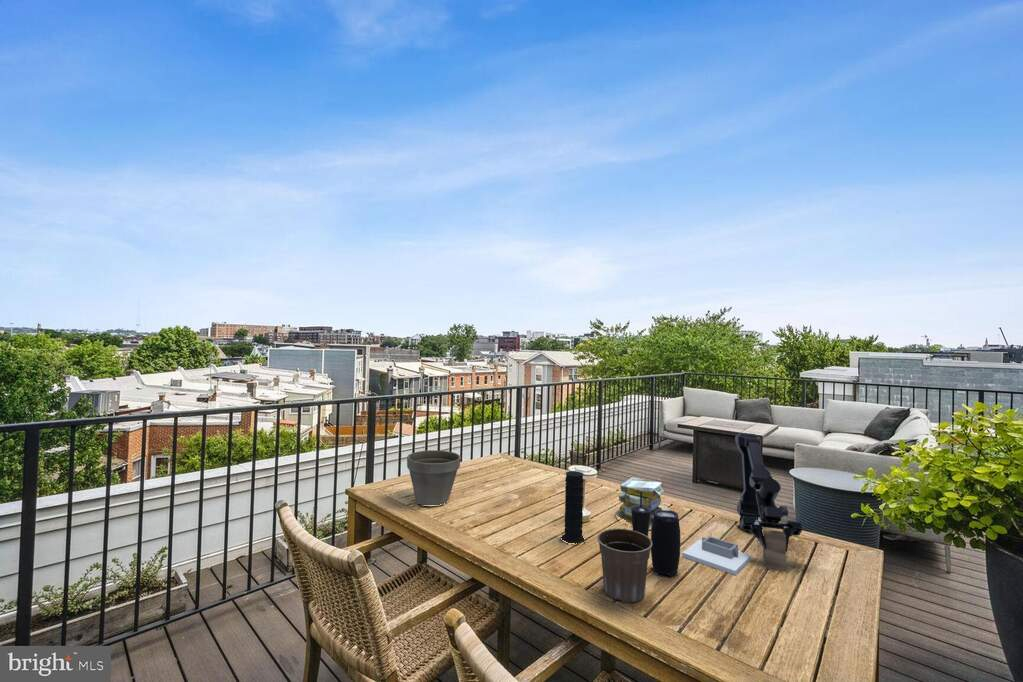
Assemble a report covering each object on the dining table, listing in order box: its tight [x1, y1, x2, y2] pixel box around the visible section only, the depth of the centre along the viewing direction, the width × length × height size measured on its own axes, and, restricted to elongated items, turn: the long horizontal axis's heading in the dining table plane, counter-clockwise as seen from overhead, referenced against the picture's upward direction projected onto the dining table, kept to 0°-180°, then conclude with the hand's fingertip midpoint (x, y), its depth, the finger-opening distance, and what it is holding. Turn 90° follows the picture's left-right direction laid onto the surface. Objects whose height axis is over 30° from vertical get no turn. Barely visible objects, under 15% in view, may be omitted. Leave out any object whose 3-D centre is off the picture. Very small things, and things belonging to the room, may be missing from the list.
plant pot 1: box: [406, 449, 462, 505], centre depth 213 cm, size 25×25×22 cm
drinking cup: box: [630, 491, 651, 537], centre depth 172 cm, size 8×8×20 cm
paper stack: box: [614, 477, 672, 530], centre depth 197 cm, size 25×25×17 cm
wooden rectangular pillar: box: [762, 529, 787, 572], centre depth 155 cm, size 4×6×12 cm, turn 76°
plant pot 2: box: [596, 528, 652, 603], centre depth 138 cm, size 16×16×16 cm
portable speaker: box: [650, 509, 681, 578], centre depth 152 cm, size 9×9×20 cm
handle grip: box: [560, 470, 585, 544], centre depth 175 cm, size 10×26×10 cm
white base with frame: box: [681, 535, 752, 576], centre depth 162 cm, size 16×18×4 cm
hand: (775, 550), depth 154 cm, fingers closed on wooden rectangular pillar, 6 cm apart
